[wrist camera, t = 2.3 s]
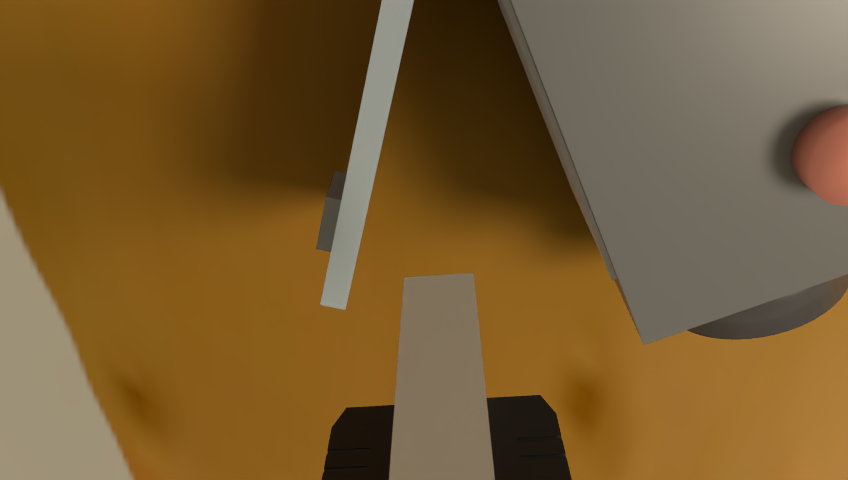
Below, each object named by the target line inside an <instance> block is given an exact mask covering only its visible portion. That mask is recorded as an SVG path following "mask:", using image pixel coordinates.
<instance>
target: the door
mask: <svg viewBox="0 0 848 480" xmlns="http://www.w3.org/2000/svg"><path fill="white" fill-rule="evenodd" d="M413 2H414V0H382V2H381V7H380V12H379V17H378V22H377V27H376V32H375V37H374V42H373V47H372V52H371V57H370V62H369V67H368V71H367V76H366V81H365V86H364V91H363V96H362V101H361V106H360V111H359V116H358V121H357V126H356V131H355V136H354V141H353V146H352V151H351V156H350V161H349V165H348V170H347V173H344V172H340V171H335V172H334V175H333V178H332V181H331V184H330V187H329V190H328V193H327V196H326V200H325V205H324V211H323V216H322V221H321V226H320V232H319V237H318V242H317V247H316V249H320V250H324V251H329V252H331V255H330V259H329V264H328V269H327V274H326V279H325V284H324V289H323V294H322V299H321V304H320V305H324V306H329V307H334V308H339V309H344V310H345V309H346V304H347V300H348V295H349V291H350V286H351V282H352V277H353V273H354V268H355V264H356V259H357V255H358V250H359V246H360V241H361V237H362V232H363V228H364V223H365V219H366V214H367V210H368V205H369V201H370V196H371V192H372V187H373V183H374V178H375V174H376V169H377V165H378V160H379V156H380V151H381V147H382V142H383V138H384V133H385V129H386V124H387V120H388V115H389V111H390V106H391V102H392V97H393V93H394V88H395V83H396V79H397V74H398V70H399V65H400V61H401V56H402V52H403V47H404V43H405V38H406V34H407V29H408V25H409V20H410V16H411V11H412V7H413Z"/></svg>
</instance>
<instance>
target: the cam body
mask: <svg viewBox="0 0 848 480" xmlns="http://www.w3.org/2000/svg"><path fill="white" fill-rule="evenodd" d="M497 1H498V4H499V6H500V9H501V12H502V14H503V17H504V19H505V22H506V24H507V27H508V29H509V32H510V34H511V37H512V39H513V42H514V45H515V47H516V50H517V52H518V55H519V57H520V60H521V62H522V65H523V67H524V70H525V72H526V75H527V78H528V80H529V83H530V85H531V88H532V90H533V93H534V95H535V98H536V100H537V103H538V105H539V108H540V110H541V113H542V116H543V118H544V121H545V123H546V126H547V128H548V131H549V133H550V136H551V138H552V141H553V143H554V146H555V149H556V151H557V154H558V156H559V159H560V161H561V164H562V166H563V169H564V171H565V174H566V176H567V179H568V182H569V184H570V187H571V189H572V191H573V194H574V196H575V198H576V200H577V203H578V205H579V207H580V209H581V212H582V214H583V216H584V218H585V221H586V223H587V225H588V227H589V230H590V232H591V234H592V236H593V238H594V241H595V243H596V245H597V247H598V250H599V252H600V254H601V256H602V259H603V261H604V263H605V265H606V268H607V270H608V272H609V274H610V276H611V279H612V281H613V280H615V282H616V284H617V287H618V289H619V291H620V293H621V295H622V298H623V300H624V302H625V304H626V306H627V309H628V311H629V313H630V315H631V317H632V320H633V322H634V324H635V326H636V328H637V331H638V333H639V335H640V337H641V339H642V342H643V344H644V345H645V344H648V343H651V342H654V341H657V340H660V339H663V338H665V337H668V336H671V335H674V334H677V333H680V332H683V331H686V330H688V331H690V332H693V333H695V334H698V335H702V336H706V337H711V338H719V339H751V338H759V337H765V336H770V335H775V334H779V333H782V332H786V331H789V330H792V329H794V328H797V327H800V326H802V325H804V324H806V323H808V322H810V321H812V320H814V319H816V318H818V317H819V316H821V315H822V314H824V313H825V312H827V311H828V310H829V309H830V308H832V307H833V306H834V305H835V304H836V303H837V302H838V301H839V300H840V299H841V298H842V296H843V295H844V293H845V292H846V290H847V288H848V0H497Z"/></svg>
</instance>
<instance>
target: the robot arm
mask: <svg viewBox="0 0 848 480" xmlns="http://www.w3.org/2000/svg"><path fill="white" fill-rule="evenodd" d="M322 480H571V475H570V471H569V467H568V462H567V458H566V455H565V450H564V445H563V441H562V439H561V432H560V428H559V424H558V420H557V415H556V413H555V412H554V410H553V409H552V408H551V407H550V406H549V405H548V404H547V402H546V401H545V400H544V399H543V398H542V397H541V396H540V395H532V396H514V397H497V398H486V389H485V379H484V370H483V360H482V350H481V341H480V331H479V322H478V312H477V302H476V293H475V283H474V273H466V274H450V275H435V276H419V277H404V287H403V300H402V313H401V327H400V340H399V353H398V366H397V379H396V393H395V405H387V406H369V407H351V408H346V409H345V411H344V412H343V413H342V415H341V416H340V417H339V419H338V420H337V421H336V423H335V424H334V425H333V427H332V429H331V434H330V439H329V445H328V454H327V455H326V461H325V466H324V473H323V476H322Z"/></svg>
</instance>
